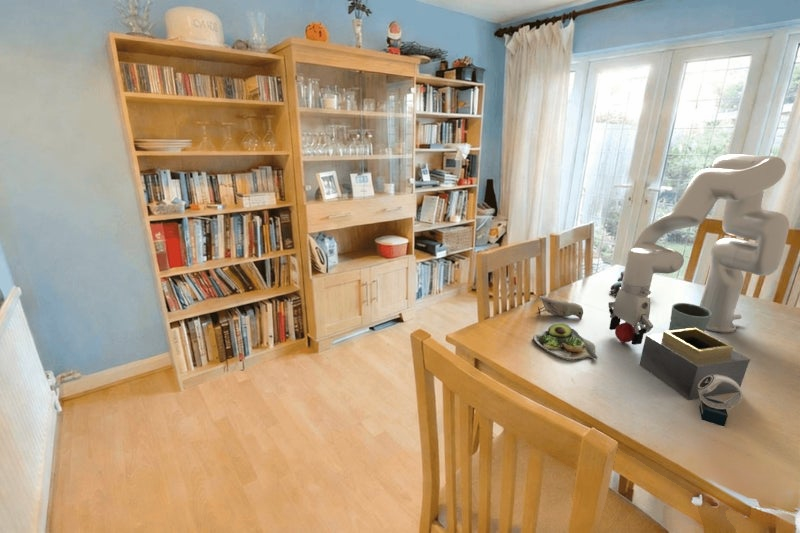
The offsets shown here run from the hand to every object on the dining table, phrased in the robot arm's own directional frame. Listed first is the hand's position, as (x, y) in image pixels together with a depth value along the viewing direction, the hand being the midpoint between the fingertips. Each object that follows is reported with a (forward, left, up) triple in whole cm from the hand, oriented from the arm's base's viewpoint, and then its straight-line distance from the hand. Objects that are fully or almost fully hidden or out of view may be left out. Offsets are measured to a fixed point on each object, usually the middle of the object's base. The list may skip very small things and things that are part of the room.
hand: (624, 336), depth 122 cm
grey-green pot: (-19, +4, -3) cm, 20 cm away
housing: (-3, +20, -2) cm, 20 cm away
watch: (+5, +34, -3) cm, 34 cm away
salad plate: (+20, -3, -3) cm, 20 cm away
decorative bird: (+9, -22, -3) cm, 24 cm away
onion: (0, 0, -3) cm, 3 cm away
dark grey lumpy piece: (-31, -34, -3) cm, 46 cm away
